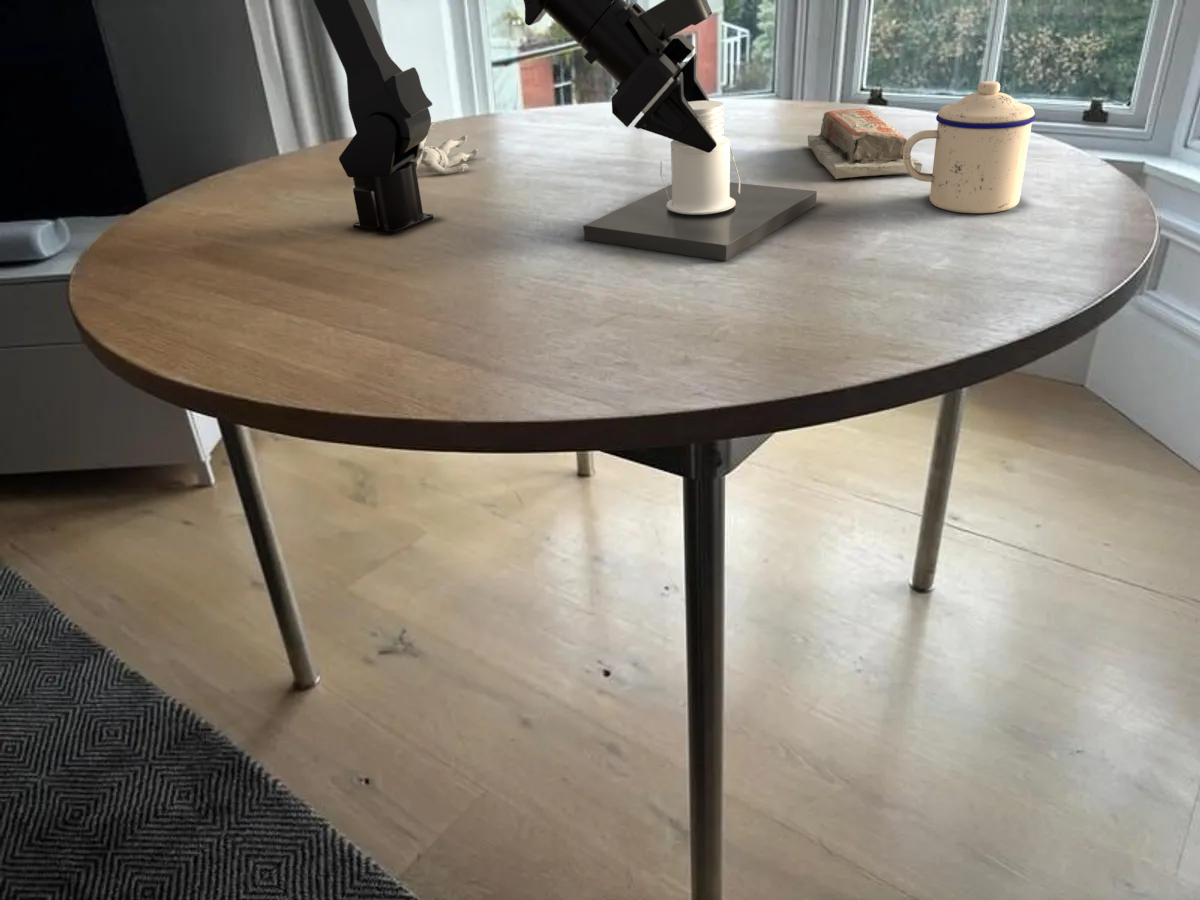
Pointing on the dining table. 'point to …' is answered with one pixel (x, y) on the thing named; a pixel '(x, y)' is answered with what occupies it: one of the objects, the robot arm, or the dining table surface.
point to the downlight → (702, 168)
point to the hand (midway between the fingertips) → (717, 138)
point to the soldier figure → (443, 156)
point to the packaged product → (859, 145)
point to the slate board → (702, 222)
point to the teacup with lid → (977, 152)
